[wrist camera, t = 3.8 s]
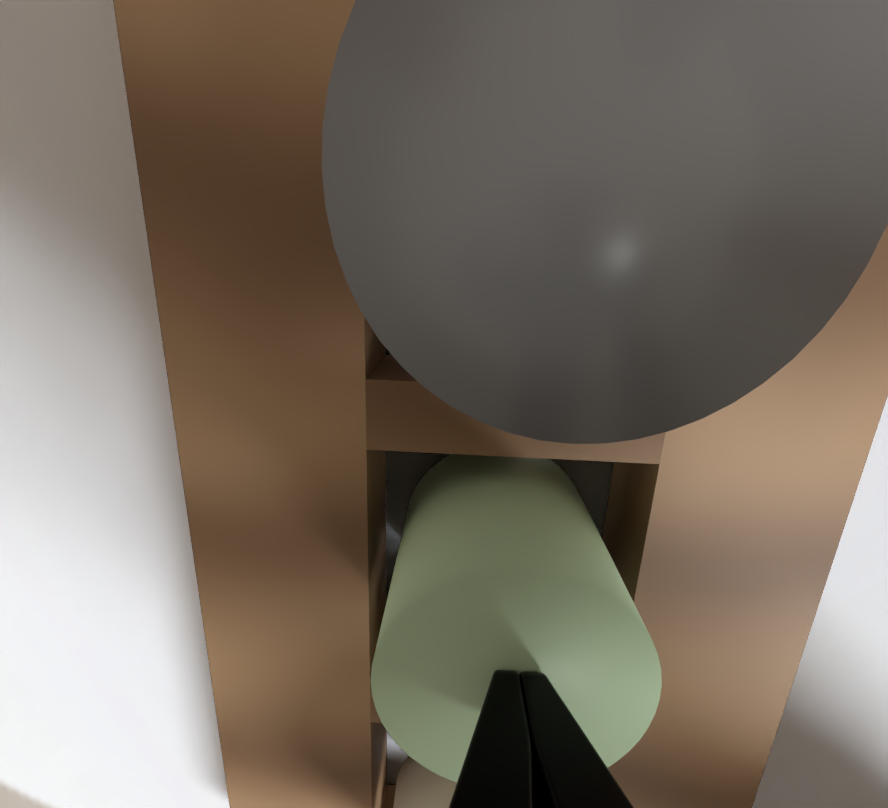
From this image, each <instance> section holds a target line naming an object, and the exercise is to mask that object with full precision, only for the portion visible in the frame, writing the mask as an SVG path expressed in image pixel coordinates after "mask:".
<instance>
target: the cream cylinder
mask: <svg viewBox="0 0 888 808" xmlns="http://www.w3.org/2000/svg"><path fill="white" fill-rule="evenodd" d="M456 784H457V782H454V781H451V780H449V779H447V778H444V777H442V776H440V775H437V774H436V773H434V772H432V771H430V770H429V769H427V768H425V767H423V766H422V765H421V764H419V763H418V762H416V761H415V760H414V759H412V758H411V757H410V756H408V757H407V759H406V760H405V761H404V763H403V764H402V766H401V768H400V770H399V773H398V777H397V782H396V790H395V798H394V805H393V808H449V805H450V802H451V799H452V796H453V793H454V790H455V787H456Z"/></svg>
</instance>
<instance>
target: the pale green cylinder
mask: <svg viewBox="0 0 888 808" xmlns="http://www.w3.org/2000/svg"><path fill="white" fill-rule="evenodd" d="M495 670H512V671H517V672H518V674H520V673H521V672H523V671H527V672H541V673H543V674H545V675H546V676H547V678H548V679H549V681H550V682H551V684H552V685H553V687H554V688H555V690H556V691H557V693H558V694H559V696H560V697H561V699H562V700H563V702H564V703H565V705H566V706H567V708H568V709H569V711H570V712H571V714H572V715H573V717H574V718H575V720H576V721H577V723H578V724H579V726H580V727H581V729H582V730H583V732H584V733H585V735H586V736H587V738H588V739H589V741H590V742H591V744H592V745H593V747H594V748H595V750H596V751H597V753H598V754H599V756H600V757H601V759H602V760H603V762H604V763H605V765H606V766H607V768H608V767H609V766H611V765H613V764H614V763H616V762H617V761H618V760H619V759H621V758H622V757H623V756H624V755H625V754H627V753H628V752H629V751H630V750H631V749H632V748H633V747H634V746H635V745H636V743H637V742H638V741H639V740H640V739H641V737H642V736H643V735H644V733H645V732H646V730H647V729H648V727H649V725H650V723H651V721H652V719H653V717H654V715H655V713H656V710H657V707H658V703H659V700H660V694H661V686H662V678H661V666H660V662H659V657H658V653H657V651H656V648H655V646H654V643H653V641H652V638H651V636H650V634H649V632H648V630H647V628H646V626H645V624H644V622H643V620H642V618H641V616H640V614H639V612H638V610H637V608H636V606H635V604H634V602H633V600H632V598H631V596H630V594H629V592H628V590H627V588H626V586H625V584H624V582H623V580H622V578H621V576H620V574H619V572H618V570H617V568H616V566H615V564H614V562H613V560H612V558H611V556H610V554H609V552H608V550H607V548H606V546H605V544H604V542H603V540H602V538H601V536H600V534H599V532H598V530H597V528H596V526H595V524H594V522H593V520H592V518H591V516H590V514H589V512H588V510H587V508H586V506H585V504H584V502H583V500H582V498H581V496H580V493H579V491H578V490H577V488H576V486H575V485H574V483H573V481H572V480H571V479H570V477H569V476H568V475H567V474H566V472H565V471H563V470H562V469H561V468H560V467H559V466H558V465H557V464H556V463H554V462H553V461H551V460H550V459H545V458H525V457H505V456H484V455H464V454H451V455H449V456H448V457H446V458H444V459H442V460H441V461H440V462H438V463H437V464H436V465H434V466H433V467H432V468H431V469H430V470H429V471H428V472H427V473H426V474H425V475H424V477H423V478H422V479H421V480H420V482H419V483H418V485H417V487H416V488H415V490H414V492H413V494H412V497H411V499H410V502H409V506H408V511H407V515H406V519H405V524H404V528H403V532H402V537H401V541H400V545H399V550H398V554H397V558H396V563H395V567H394V571H393V576H392V580H391V584H390V589H389V593H388V597H387V602H386V606H385V611H384V615H383V619H382V624H381V628H380V632H379V637H378V641H377V645H376V650H375V654H374V658H373V663H372V669H371V689H372V697H373V701H374V704H375V708H376V711H377V713H378V715H379V718H380V720H381V722H382V724H383V726H384V727H385V729H386V730H387V732H388V733H389V735H390V736H391V738H392V739H393V740H394V741H395V742H396V743H397V745H398V746H399V747H400V748H401V749H402V750H403V751H404V752H405V753H407V754H408V755H409V756H410V757H411V758H412V759H414V760H415V761H416V762H418V763H419V764H421V765H422V766H423V767H425V768H427V769H429V770H430V771H432V772H434V773H436V774H437V775H440V776H442V777H444V778H447V779H449V780H451V781H454V782H457V781H458V778H459V775H460V772H461V769H462V766H463V763H464V760H465V757H466V754H467V751H468V748H469V745H470V742H471V739H472V736H473V733H474V730H475V727H476V724H477V721H478V718H479V715H480V712H481V709H482V706H483V703H484V700H485V697H486V694H487V691H488V688H489V685H490V682H491V679H492V676H493V673H494V671H495Z"/></svg>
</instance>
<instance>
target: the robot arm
mask: <svg viewBox="0 0 888 808" xmlns="http://www.w3.org/2000/svg"><path fill="white" fill-rule="evenodd" d="M449 808H634V807H633V805H632V804H631V802H630V801H629V799H628V798H627V796H626V795H625V793H624V792H623V790H622V789H621V787H620V786H619V784H618V783H617V781H616V780H615V778H614V777H613V775H612V774H611V772H610V771H609V769H608V768H607V766H606V765H605V763H604V762H603V760H602V759H601V757H600V756H599V754H598V753H597V751H596V750H595V748H594V747H593V745H592V744H591V742H590V741H589V739H588V738H587V736H586V735H585V733H584V732H583V730H582V729H581V727H580V726H579V724H578V723H577V721H576V720H575V718H574V717H573V715H572V714H571V712H570V711H569V709H568V708H567V706H566V705H565V703H564V702H563V700H562V699H561V697H560V696H559V694H558V693H557V691H556V690H555V688H554V687H553V685H552V684H551V682H550V681H549V679H548V678H547V676H546V675H545V674H543V673H541V672H527V671H523V672H521V673H520V674H518V672H517V671H512V670H495V671H494V673H493V676H492V679H491V682H490V685H489V688H488V691H487V694H486V697H485V700H484V703H483V706H482V709H481V712H480V715H479V718H478V721H477V724H476V727H475V730H474V733H473V736H472V739H471V742H470V745H469V748H468V751H467V754H466V757H465V760H464V763H463V766H462V769H461V772H460V775H459V778H458V781H457V784H456V787H455V790H454V793H453V796H452V799H451V802H450V805H449Z"/></svg>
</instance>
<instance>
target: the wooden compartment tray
mask: <svg viewBox="0 0 888 808" xmlns="http://www.w3.org/2000/svg"><path fill="white" fill-rule="evenodd" d="M113 2H114V9H115V16H116V23H117V30H118V37H119V43H120V50H121V57H122V64H123V71H124V78H125V85H126V92H127V99H128V106H129V113H130V120H131V126H132V133H133V140H134V147H135V154H136V161H137V168H138V175H139V182H140V189H141V196H142V203H143V210H144V216H145V223H146V230H147V237H148V244H149V251H150V258H151V265H152V272H153V279H154V286H155V293H156V299H157V306H158V313H159V320H160V327H161V334H162V341H163V348H164V355H165V362H166V369H167V376H168V382H169V389H170V396H171V403H172V410H173V417H174V424H175V431H176V438H177V445H178V452H179V459H180V466H181V472H182V479H183V486H184V493H185V500H186V507H187V514H188V521H189V528H190V535H191V542H192V549H193V555H194V562H195V569H196V576H197V583H198V590H199V597H200V604H201V611H202V618H203V625H204V632H205V638H206V645H207V652H208V659H209V666H210V673H211V680H212V687H213V694H214V701H215V708H216V715H217V722H218V728H219V735H220V742H221V749H222V756H223V763H224V770H225V777H226V784H227V791H228V798H229V805H230V808H393V805H394V798H395V790H396V785H387V730H386V729H385V727H384V726H383V724H382V722H381V720H380V718H379V715H378V713H377V711H376V708H375V704H374V701H373V697H372V689H371V669H372V663H373V658H374V654H375V650H376V645H377V641H378V637H379V632H380V628H381V624H382V619H383V615H384V611H385V606H386V451H403V452H423V453H444V454H464V455H484V456H505V457H525V458H545V459H565V460H586V461H606V462H614V466H613V473H612V479H611V486H610V492H609V498H608V505H607V511H606V518H605V524H604V530H603V537H602V540H603V542H604V544H605V546H606V548H607V550H608V552H609V554H610V556H611V558H612V560H613V562H614V564H615V566H616V568H617V570H618V572H619V574H620V576H621V578H622V580H623V582H624V584H625V586H626V588H627V590H628V592H629V594H630V596H631V598H632V600H633V602H634V604H635V606H636V608H637V610H638V612H639V614H640V616H641V618H642V620H643V622H644V624H645V626H646V628H647V630H648V632H649V634H650V636H651V638H652V641H653V643H654V646H655V648H656V651H657V653H658V657H659V662H660V666H661V678H662V686H661V694H660V700H659V703H658V707H657V710H656V713H655V715H654V717H653V719H652V721H651V723H650V725H649V727H648V729H647V730H646V732H645V733H644V735H643V736H642V737H641V739H640V740H639V741H638V742H637V743H636V745H635V746H634V747H633V748H632V749H631V750H630V751H629V752H628V753H627V754H625V755H624V756H623V757H622V758H621V759H619V760H618V761H617V762H616V763H614V764H613V765H611V766H609V767H608V769H609V771H610V772H611V774H612V775H613V777H614V778H615V780H616V781H617V783H618V784H619V786H620V787H621V789H622V790H623V792H624V793H625V795H626V796H627V798H628V799H629V801H630V802H631V804H632V805H633V807H634V808H752V805H753V802H754V799H755V796H756V793H757V790H758V787H759V784H760V781H761V778H762V775H763V772H764V769H765V766H766V763H767V760H768V757H769V753H770V750H771V747H772V744H773V741H774V738H775V735H776V732H777V729H778V726H779V723H780V720H781V717H782V714H783V711H784V708H785V705H786V702H787V699H788V696H789V693H790V690H791V687H792V684H793V681H794V678H795V675H796V672H797V669H798V666H799V663H800V660H801V657H802V653H803V650H804V647H805V644H806V641H807V638H808V635H809V632H810V629H811V626H812V623H813V620H814V617H815V614H816V611H817V608H818V605H819V602H820V599H821V596H822V593H823V590H824V587H825V584H826V581H827V578H828V575H829V572H830V569H831V566H832V563H833V560H834V557H835V553H836V550H837V547H838V544H839V541H840V538H841V535H842V532H843V529H844V526H845V523H846V520H847V517H848V514H849V511H850V508H851V505H852V502H853V499H854V496H855V493H856V490H857V487H858V484H859V481H860V478H861V475H862V472H863V469H864V466H865V463H866V460H867V457H868V453H869V450H870V447H871V444H872V441H873V438H874V435H875V432H876V429H877V426H878V423H879V420H880V417H881V414H882V411H883V408H884V405H885V402H886V399H887V396H888V223H887V226H886V228H885V230H884V232H883V234H882V236H881V238H880V240H879V242H878V244H877V247H876V249H875V251H874V253H873V255H872V257H871V259H870V261H869V263H868V265H867V266H866V268H865V270H864V271H863V273H862V274H861V276H860V278H859V279H858V281H857V282H856V284H855V285H854V287H853V289H852V290H851V292H850V293H849V295H848V296H847V298H846V300H845V301H844V302H843V303H842V305H841V306H840V307H839V309H838V310H837V311H836V312H835V314H834V315H833V316H832V317H831V319H830V320H829V321H828V322H827V324H826V325H825V326H824V327H823V329H822V330H821V331H820V332H819V333H818V334H817V335H816V336H815V337H814V338H813V339H812V340H811V341H810V342H809V343H808V344H807V345H806V346H805V347H804V348H803V349H802V350H801V352H800V353H799V354H798V355H797V356H796V357H795V358H794V359H793V360H791V361H790V362H789V363H788V364H786V365H785V366H784V367H783V368H782V369H780V370H779V371H778V372H777V373H775V374H774V375H773V376H772V377H771V378H769V379H768V380H767V381H766V382H764V383H763V384H762V385H760V386H758V387H757V388H755V389H754V390H752V391H751V392H749V393H748V394H746V395H745V396H743V397H742V398H740V399H739V400H737V401H736V402H734V403H732V404H730V405H728V406H726V407H724V408H722V409H720V410H718V411H717V412H715V413H713V414H711V415H709V416H707V417H705V418H703V419H700V420H698V421H695V422H692V423H690V424H687V425H685V426H682V427H679V428H677V429H674V430H671V431H668V432H664V433H660V434H656V435H652V436H648V437H644V438H640V439H636V440H628V441H620V442H613V443H605V444H568V443H559V442H550V441H541V440H536V439H532V438H528V437H524V436H520V435H515V434H511V433H508V432H505V431H503V430H500V429H497V428H495V427H492V426H489V425H487V424H484V423H481V422H479V421H477V420H475V419H473V418H472V417H470V416H468V415H466V414H464V413H462V412H460V411H458V410H456V409H455V408H453V407H451V406H450V405H448V404H447V403H445V402H444V401H443V400H441V399H440V398H438V397H437V396H435V395H434V394H433V393H431V392H430V391H428V390H427V389H426V388H425V387H423V386H422V385H421V384H420V383H419V382H418V381H417V380H416V379H415V378H414V377H413V376H411V375H410V374H409V373H408V372H407V371H406V370H405V369H404V368H403V367H402V366H401V365H400V364H399V363H398V362H397V360H396V359H395V358H394V357H393V356H392V355H386V347H385V346H384V345H383V344H382V343H381V342H380V340H379V339H378V337H377V336H376V334H375V332H374V331H373V329H372V328H371V326H370V325H369V323H368V322H367V320H366V319H365V317H364V316H363V314H362V313H361V311H360V308H359V306H358V304H357V302H356V300H355V298H354V296H353V294H352V292H351V290H350V288H349V286H348V284H347V282H346V280H345V277H344V274H343V271H342V268H341V265H340V262H339V260H338V257H337V254H336V251H335V248H334V245H333V240H332V236H331V231H330V226H329V222H328V217H327V213H326V208H325V198H324V187H323V177H322V128H323V120H324V113H325V105H326V98H327V91H328V84H329V80H330V76H331V72H332V69H333V65H334V61H335V57H336V53H337V49H338V45H339V42H340V39H341V36H342V34H343V31H344V29H345V26H346V24H347V21H348V18H349V16H350V13H351V11H352V8H353V6H354V3H355V0H113Z"/></svg>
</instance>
